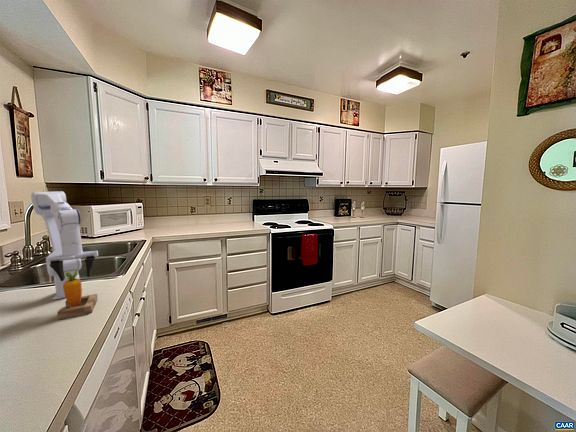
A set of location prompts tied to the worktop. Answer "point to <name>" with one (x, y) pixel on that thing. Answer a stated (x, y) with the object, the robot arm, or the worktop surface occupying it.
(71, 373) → the worktop surface
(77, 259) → the robot arm
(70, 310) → the walnut bracket
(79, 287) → the carrot
